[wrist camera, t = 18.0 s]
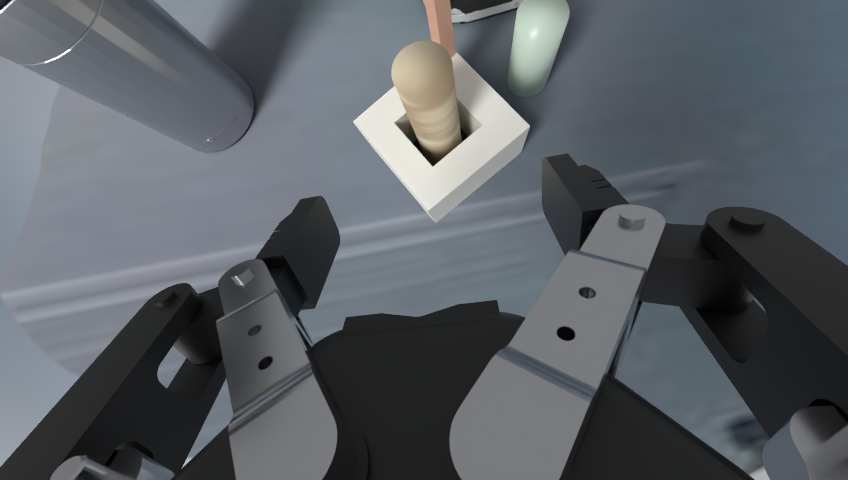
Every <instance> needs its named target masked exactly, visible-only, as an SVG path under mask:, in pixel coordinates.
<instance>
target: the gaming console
mask: <svg viewBox="0 0 848 480" xmlns="http://www.w3.org/2000/svg"><path fill="white" fill-rule="evenodd" d="M522 1H523V0H450V5H451V16H452V22H459V23H462V24H464V23H468V22H472V21H475V20H479V19H482V18H486V17H489V16H493V15H496V14H499V13H503V12H506V11H510V10H513V9H516V8H518V7H519V6H520V4H521V3H522ZM423 2H424V4H425V1H424V0H423ZM454 9H455V10H454Z"/></svg>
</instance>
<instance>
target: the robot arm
mask: <svg viewBox="0 0 848 480" xmlns="http://www.w3.org/2000/svg"><path fill="white" fill-rule="evenodd" d="M0 56H2V57H4V58H6V59H8V60H10V61H12V62H14V63H16V64H19V65H21V66H23V67H25V68H27V69H29V70H31V71H33V72H35V73H37V74H39V75H42V76H44V77H46V78H48V79H50V80H52V81H54V82H56V83H58V84H60V85H62V86H64V87H67V88H69V89H71V90H73V91H75V92H77V93H79V94H81V95H83V96H85V97H87V98H90V99H92V100H94V101H96V102H98V103H100V104H102V105H104V106H106V107H108V108H110V109H112V110H115V111H117V112H119V113H121V114H123V115H125V116H127V117H129V118H131V119H133V120H135V121H138V122H140V123H142V124H144V125H146V126H148V127H150V128H152V129H154V130H156V131H158V132H160V133H162V134H164V135H167V136H169V137H171V138H173V139H175V140H177V141H179V142H181V143H183V144H185V145H188V146H190V147H192V148H194V149H196V150H198V151H202V152H216V151H221V150H223V149H225V148H228V147H230V146H231V145H232V144H234V143H235V142H237V141H238V140H239V139H240V137H241V136H242V135H243V134H244V133H245V131H246V130H247V128H248V127H249V124H250V122H251V120H252V116H253V111H254V99H253V94H252V91H251V89H250V87H249V85H248V84H247V83H246V82H245V80H244V79H242V78H241V77H240V76H239V75H238V74H237V73H236V72H234V71H233V70H232V69H231V68H230V67H229V66H228V65H226V64H225V63H224V62H223V61H222V60H221V59H220V58H218V57H217V56H216V55H215V54H214V53H213V52H212V51H211V50H210V49H208V48H207V47H206V46H205V45H204V44H203V43H202V42H200V41H199V40H198V39H197V38H196V37H195V36H194V35H192V34H191V33H190V32H189V31H188V30H187V29H186V28H184V27H183V26H182V25H181V24H180V23H179V22H178V21H176V20H175V19H174V18H173V17H172V16H171V15H170V14H168V13H167V12H166V11H165V10H164V9H163V8H162V7H160V6H159V5H158V4H157V3H156V2H155V1H154V0H0ZM542 205H543V211H544V214H545V216H546V218H547V220H548V222H549V224H550V226H551V228H552V230H553V232H554V234H555V236H556V238H557V240H558V242H559V244H560V246H561V248H562V250H563V252H564V254H565V257H564V259H563V261H562V262H561V264H560V265H559V267H558V268H557V270H556V272H555V273H554V275H553V276H552V278H551V279H550V281H549V282H548V284H547V286H546V287H545V289H544V290H543V292H542V293H541V295H540V297H539V298H538V300H537V301H536V303H535V304H534V306H533V307H532V309H531V311H530V312H529V314H528V315H527V317H526V318H525V317H522V316H519V315H515V314H510V313H505V312H499V308H498V303H497V300H493V301H484V302H476V303H467V304H458V305H455V306H452V307H449V308H446V309H443V310H439V311H436V312H433V313H430V314H427V315H424V316H420V317H411V316H402V315H392V314H383V313H380V314H371V315H363V316H354V317H346V319H345V323H344V326H343V330H340V331H338V332H335V333H333V334H331V335H329V336H327V337H325V338H323V339H322V340H320V341H319V342H317V343H316V344H314V343H313V341H312V339H311V337H310V335H309V333H308V331H307V329H306V327H305V326H304V324H303V322H302V320H301V318H300V317H299V315H298V314H299V312H300V310H305V309H313V308H315V307H316V304H317V302H318V299H319V297H320V294H321V291H322V289H323V286H324V284H325V281H326V278H327V276H328V273H329V271H330V268H331V266H332V263H333V260H334V258H335V255H336V253H337V250H338V248H339V245H340V235H339V231H338V228H337V226H336V223H335V221H334V219H333V217H332V214H331V212H330V210H329V207H328V205H327V203H326V201H325V199H324V198H323V197H322V196H316V197H311V198H305V199H301V200H300V201H299V202H298V204H297V205H296V207H295V208H294V210H293V211H292V213H291V214H290V215H288V216H287V217H286V218H285V219H284V220H282V221H281V222H280V223H279V225H278V226H277V228H276V229H275V232H273V233H272V235H271V236H270V240H268V241H267V242H266V244H265V245H264V247H263V248H262V249H261V251H260V252H259V254H258V255H257V257H256V258H255V259H252V260H248V261H245V262H242V263H240V264H238V265H236V266H234V267H232V268H231V269H230V270H228V271H227V272H226V273H225V274H224V275H223V276H222V277H221V279H220V280H219V282H218V287H216V288H214V289H211V290H208V291H205V292H202V293H199V294H198V293H197V292H196V291H195V290H194V289H193V287H192V286H191V285H190V284H187V283H181V284H176V285H173V286H171V287H168V288H166V289H164V290H162V291H161V292H159V293H157V294H156V295H154V296H153V297H152V298H151V299H149V300H148V301H147V302H146V303H145V304H144V306H143V307H142V308H141V309H140V310H139V311H138V312H137V313H136V315H135V316H134V317H133V318H132V319H131V320H130V321H129V322H128V324H127V325H126V326H125V327H124V328H123V329H122V330H121V331H120V333H119V334H118V335H117V336H116V337H115V338H114V339H113V341H112V342H111V343H110V344H109V345H108V346H107V347H106V348H105V350H104V351H103V352H102V353H101V354H100V355H99V356H98V357H97V359H96V360H95V361H94V362H93V363H92V364H91V365H90V367H89V368H88V369H87V370H86V371H85V372H84V373H83V374H82V376H81V377H80V378H79V379H78V380H77V381H76V382H75V383H74V385H73V386H72V387H71V388H70V389H69V391H67V393H66V394H65V395H64V396H63V397H62V398H61V399H60V401H59V402H58V403H57V404H56V405H55V406H54V407H53V408H52V410H51V411H50V412H49V413H48V414H47V415H46V416H45V417H44V418H43V420H42V421H41V422H40V423H39V424H38V425H37V427H36V428H35V429H34V430H33V431H32V432H31V433H30V434H29V435H28V437H27V438H26V439H25V440H24V441H23V442H22V443H21V445H20V446H19V447H18V448H17V449H16V450H15V452H13V454H12V455H11V456H10V457H9V458H8V459H7V460H6V461H5V463H4V464H3V465H2V466H1V467H0V480H754V479H753V478H752V477H751V476H749V475H748V474H747V473H746V472H744V471H743V470H742V469H740V468H739V467H738V466H736V465H735V464H734V463H732V462H731V461H729V460H728V459H727V458H725V457H724V456H722V455H721V454H720V453H718V452H717V451H716V450H714V449H713V448H711V447H710V446H709V445H707V444H706V443H705V442H703V441H702V440H700V439H699V438H698V437H696V436H695V435H693V434H692V433H691V432H689V431H688V430H687V429H685V428H684V427H682V426H681V425H680V424H678V423H677V422H675V421H674V420H673V419H671V418H670V417H669V416H667V415H666V414H664V413H663V412H662V411H660V410H659V409H658V408H656V407H655V406H653V405H652V404H651V403H649V402H648V401H646V400H645V399H644V398H642V397H641V396H640V395H638V394H637V393H635V392H634V391H633V390H631V389H630V388H628V387H627V386H626V385H624V384H623V383H622V382H620V381H619V380H617V376H618V373H619V370H620V367H621V363H622V360H623V357H624V354H625V351H626V348H627V346H628V343H629V340H630V337H631V335H632V332H633V329H634V326H635V324H636V321H637V318H638V316H639V313H640V310H641V307H642V305H643V302H649V303H657V304H665V305H673V306H679V307H680V308H681V310H682V311H683V313H684V314H685V316H686V317H687V319H688V320H689V322H690V323H691V324H692V326H693V327H694V329H695V330H696V332H697V333H698V335H699V336H700V337H701V339H702V340H703V342H704V343H705V345H706V346H707V348H708V349H709V350H710V352H711V353H712V355H713V356H714V358H715V359H716V361H717V362H718V364H719V365H720V366H721V368H722V369H723V371H724V372H725V374H726V375H727V377H728V378H729V379H730V381H731V382H732V384H733V385H734V387H735V388H736V390H737V391H738V393H739V394H740V395H741V397H742V398H743V400H744V401H745V403H746V404H747V406H748V407H749V408H750V410H751V411H752V413H753V414H754V416H755V417H756V419H757V420H758V421H759V423H760V424H761V426H762V427H763V429H764V430H765V432H766V433H767V435H768V436H769V437H770V440H769V441H768V442H767V443H766V444H765V446H764V448H763V454H762V457H763V464H764V467H765V470H766V472H767V474H768V476H769V478H770V480H848V266H847V265H846V264H844V263H843V262H841V261H840V260H839V259H837V258H836V257H834V256H833V255H832V254H830V253H829V252H827V251H826V250H825V249H823V248H822V247H820V246H819V245H818V244H816V243H815V242H813V241H812V240H811V239H809V238H808V237H806V236H805V235H804V234H802V233H801V232H799V231H798V230H797V229H795V228H794V227H792V226H791V225H790V224H788V223H787V222H785V221H784V220H782V219H781V218H779V217H777V216H775V215H773V214H771V213H768V212H765V211H761V210H757V209H753V208H746V207H725V208H720V209H716V210H714V211H712V212H711V213H709V214H708V216H707V219H706V221H705V224H704V225H681V224H668V223H666V222H665V219H664V217H663V216H662V215H661V214H660V213H659V212H657V211H655V210H653V209H651V208H648V207H645V206H640V205H630V204H629V203H628V202H627V201H626V200H625V199H624V198H623V197H622V196H621V195H620V193H619V192H618V191H617V190H616V189H615V188H614V187H612V186H611V184H610V183H609V182H608V181H607V180H605V177H604V176H603V175H602V174H601V173H600V172H599V171H598V170H596V169H593V168H591V167H589V166H586V165H583V166H578V165H577V164H576V163H575V162H574V161H573V159H572V158H571V157H570V156H569V155H568V154H562V155H556V156H550V157H545V158H544V159H543V163H542ZM754 297H755V298H756V299H757V300H758V301H759V302H760V303H761V305H762V306H763V307H764V309H765V311H766V313H767V314H766V313H765V312H764V311H763V310H762V309H761V307H760V306H759V305H758V304H757V303H756V302H755V301H754V300H753V298H754ZM172 346H174V347H175V348H176V349H177V350H179V351H180V352H181V353H182V354H183V355H184V356H185V357H186V360H185V361H184V363H183V364H182V366H181V368H180V369H179V371H178V372H177V374H176V375H175V377H174V379H173V380H172V382H171V383H170V385H169V387H168V388H165V387H164V386H163V385H162V384H161V383H160V382H159V381H158V377H157V371H158V367H159V365H160V363H161V362H162V360H163V359H164V358H165V356H166V355H167V353H168V352H169V350H170V349H171V347H172ZM226 377H227V383H228V388H229V393H230V399H231V404H232V409H233V419H232V420H231V421H230V423H229V424H228V425H227V426H226V427H225V428H224V429H223V430H222V431H221V432H220V433H219V434H218V435H217V436H216V437H215V438H214V439H213V440H212V441H211V442H210V443H208V444H207V445H206V446H205V447H204V448H203V449H202V450H201V451H200V452H199V453H198V454H197V455H196V456H195V457H194V458H193V459H192V460H191V461H189V462H188V463H187V464H186V465H185V466H184V467H183V468H182V466H183V464H184V462H185V460H186V458H187V456H188V454H189V452H190V450H191V448H192V446H193V444H194V442H195V440H196V438H197V436H198V434H199V432H200V430H201V428H202V426H203V424H204V422H205V420H206V418H207V416H208V414H209V412H210V410H211V408H212V406H213V404H214V402H215V400H216V398H217V396H218V394H219V392H220V389H221V387H222V385H223V383H224V381H225V379H226ZM181 468H182V469H181Z"/></svg>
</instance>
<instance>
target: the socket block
mask: <svg viewBox="0 0 848 480" xmlns="http://www.w3.org/2000/svg"><path fill="white" fill-rule="evenodd" d="M424 1H425V7H426V12H427V17H428V23H429V28H430V33H431V39H432V41H434V42H437V43H439V44H441V45H442V46H443V47H445V48H446V49H447V51H448V52H449V54H450V56H451V59H452V64H453V73H454V81H455V89H456V97H457V106H458V114H459V122H460V128H461V129H462V130H463V131H464V132H465V133H466V134H467V136H468V138H466V139H465V140H464V141H463V142H462V143H461V144H459V145H458V146H457V147H456V148H455V149H453V150H452V151H451V152H450V153H449V154H447V155H446V156H445V157H444V158H443V159H441V160H440V161H439V162H438V163H437V164H435V165H434V166H433V167H432V165H431V164H430V163H429V162H428V161H427V160H426V159H425V157H424V156H423V155H422V154H421V153H420V152H419V151H418V149H417V148H416V147H415V146H414V145H413V144H412V143H414V142H415V141H416V140H417V137H416V134H415V132H414V130H413V127H412V125H411V123H410V120H409V118H408V115H407V113H406V111H405V108H404V106H403V104H402V101H401V99H400V97H399V94H398V92H397V90H396V87H395V86H394V87H393V88H392V89H390V90H389V91H388V92H387V93H386V94H385V95H383V96H382V97H381V98H380V99H379V100H378V101H376V102H375V103H374V104H373V105H372V106H371V107H369V108H368V109H367V110H366V111H365V112H364V113H362V114H361V115H360V116H359V117H358V118H357V119H355V120H354V121H353V123H354V124H355V125H356V126H357V128H358V129H359V130H360V132H361V133H362V134H363V136H364V137H365V138H366V140H367V141H368V142H369V143H370V145H371V146H372V147H373V149H374V150H375V151H376V152H377V153H378V154H379V156H380V157H381V158H382V159H383V160H384V162H385V163H386V164H387V165H388V166H389V168H390V169H391V170H392V171H393V172H394V174H395V175H396V176H397V177H398V178H399V180H400V181H401V182H402V183H403V184H404V186H405V187H406V188H407V189H408V190H409V192H410V193H411V194H412V195H413V196H414V198H415V199H416V200H417V201H418V202H419V204H420V205H421V206H422V207H423V208H424V210H425V211H426V212H427V213H428V214H429V215H430V217H431V218H432V219H433V220H434V221H435V223H437V222H438V221H439V220H441V219H442V218H443V217H444V216H445V215H447V214H448V213H449V212H450V211H451V210H453V209H454V208H455V207H456V206H457V205H459V204H460V203H461V202H462V201H463V200H465V199H466V198H467V197H468V196H469V195H471V194H472V193H473V192H474V191H475V190H477V189H478V188H479V187H480V186H482V185H483V184H484V183H485V182H486V181H488V180H489V179H490V178H491V177H492V176H494V175H495V174H496V173H497V172H498V171H500V170H501V169H502V168H503V167H504V166H506V165H507V164H508V163H509V162H510V161H512V160H513V159H514V158H515V157H516V156H518V155H519V154H520V153H521V152H522V149H523V146H524V143H525V140H526V137H527V134H528V131H529V128H530V125H529V124H528V123H527V122H526V121H525V120H524V119H523V118H522V117H521V116H520V115H519V114H518V113H517V112H516V111H515V110H514V109H513V108H512V107H511V106H510V105H509V104H508V103H507V102H506V101H505V100H504V99H503V98H502V97H501V96H500V95H499V94H498V93H497V92H496V91H495V90H494V89H493V88H492V87H491V86H490V85H489V84H488V83H487V82H486V81H485V80H484V79H483V78H482V77H481V76H480V75H479V74H478V73H477V72H476V71H475V70H474V69H473V68H472V67H471V66H470V65H469V64H468V63H467V62H466V61H465V60H464V59H463V58H462V57H461V56H460V55H459V54H458V53H457V52H456V51H455V47H454V36H453V26H452V16H451V5H450V0H424Z"/></svg>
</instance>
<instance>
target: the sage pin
mask: <svg viewBox="0 0 848 480" xmlns="http://www.w3.org/2000/svg"><path fill="white" fill-rule="evenodd" d="M569 15H570V10H569V6H568V3H567V2H566V0H523V1H522V3H521V4H520V6H519V7H518V10H517V14H516V21H515V28H514V35H513V42H512V48H511V55H510V62H509V69H508V76H507V85H508V88H509V90H510V91H511V92H512V93H513V94H514V95H516V96H518V97H522V98H529V97H533V96H536V95H538V94H539V93H540V92H541V91H542V90H543V89H544V88H545V86H546V83H547V81H548V78H549V75H550V72H551V69H552V66H553V63H554V60H555V57H556V54H557V51H558V48H559V46H560V43H561V40H562V37H563V34H564V31H565V28H566V25H567V22H568V19H569Z"/></svg>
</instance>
